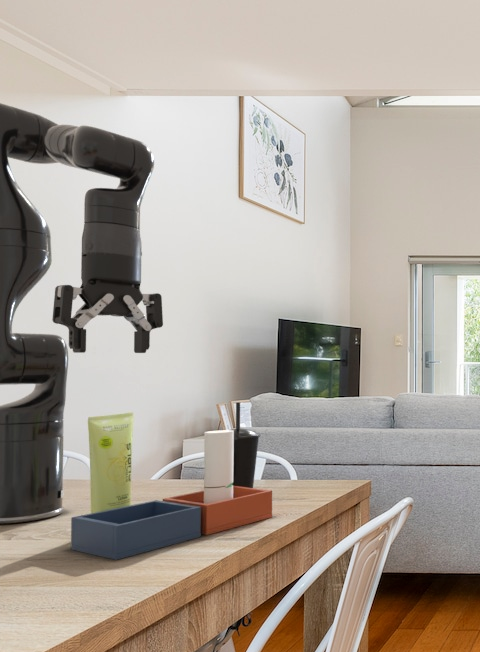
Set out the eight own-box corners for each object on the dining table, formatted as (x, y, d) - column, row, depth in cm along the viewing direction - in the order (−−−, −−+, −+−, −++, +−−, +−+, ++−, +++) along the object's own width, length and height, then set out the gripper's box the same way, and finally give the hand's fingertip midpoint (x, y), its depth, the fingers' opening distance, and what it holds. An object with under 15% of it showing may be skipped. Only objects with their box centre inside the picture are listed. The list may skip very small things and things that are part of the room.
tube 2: (210, 522, 98) (211, 433, 98) (198, 518, 100) (199, 432, 100) (237, 516, 101) (238, 431, 101) (225, 512, 103) (226, 429, 104)
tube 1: (127, 535, 93) (129, 414, 93) (86, 540, 90) (87, 416, 90) (132, 526, 98) (133, 412, 98) (93, 531, 95) (94, 413, 95)
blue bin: (70, 549, 86) (71, 517, 86) (156, 528, 97) (156, 500, 97) (116, 560, 81) (116, 526, 81) (200, 536, 92) (201, 506, 92)
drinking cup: (267, 502, 114) (268, 402, 114) (225, 511, 107) (226, 404, 108) (247, 498, 118) (248, 400, 118) (206, 505, 112) (207, 403, 112)
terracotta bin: (162, 527, 97) (162, 498, 98) (229, 510, 108) (229, 485, 108) (206, 535, 93) (206, 505, 93) (272, 517, 104) (272, 490, 104)
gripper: (146, 262, 103) (145, 353, 102) (44, 248, 90) (42, 352, 89) (173, 260, 100) (171, 353, 100) (71, 244, 87) (70, 352, 86)
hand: (110, 352), depth 94 cm, fingers open, 8 cm apart
